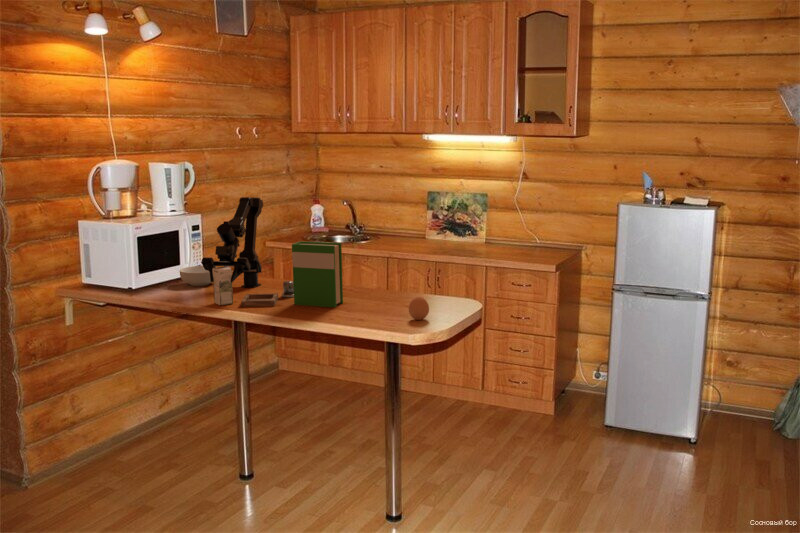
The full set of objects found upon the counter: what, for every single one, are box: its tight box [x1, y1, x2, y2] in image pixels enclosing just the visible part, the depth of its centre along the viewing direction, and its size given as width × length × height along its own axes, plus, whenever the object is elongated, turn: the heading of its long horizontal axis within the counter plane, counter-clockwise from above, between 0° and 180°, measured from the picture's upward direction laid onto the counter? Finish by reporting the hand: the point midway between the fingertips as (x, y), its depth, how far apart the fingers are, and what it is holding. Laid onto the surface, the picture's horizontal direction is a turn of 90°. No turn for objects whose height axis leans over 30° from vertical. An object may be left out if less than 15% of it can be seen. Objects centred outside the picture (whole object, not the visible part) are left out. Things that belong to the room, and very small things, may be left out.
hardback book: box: [291, 240, 344, 308], centre depth 304 cm, size 18×7×24 cm, turn 71°
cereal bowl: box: [179, 265, 218, 287], centre depth 345 cm, size 17×17×7 cm
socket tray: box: [240, 293, 279, 308], centre depth 309 cm, size 13×13×2 cm
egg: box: [408, 295, 430, 321], centre depth 279 cm, size 7×7×8 cm
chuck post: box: [281, 280, 294, 299], centre depth 319 cm, size 6×6×6 cm
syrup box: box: [212, 266, 234, 306], centre depth 307 cm, size 6×6×14 cm
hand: (221, 281), depth 305 cm, fingers closed on syrup box, 8 cm apart
